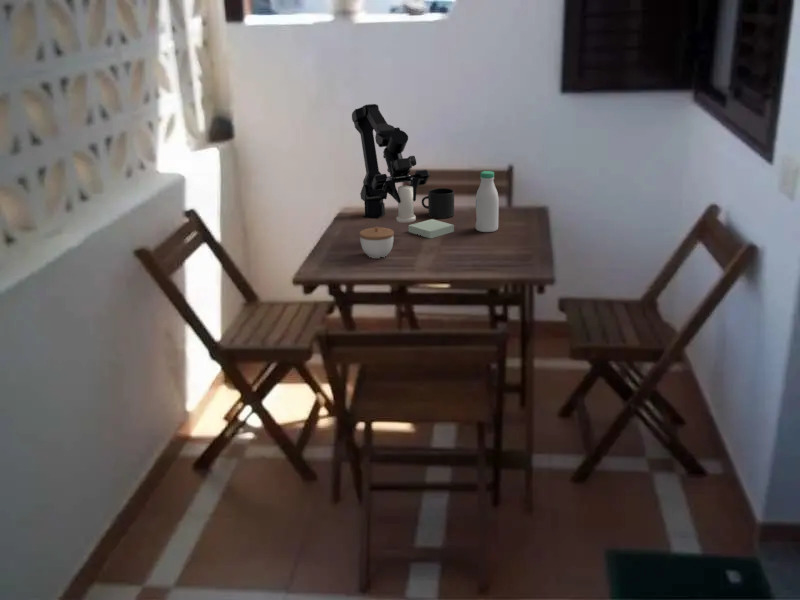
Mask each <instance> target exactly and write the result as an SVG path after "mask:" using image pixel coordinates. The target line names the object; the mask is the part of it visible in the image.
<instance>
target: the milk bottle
mask: <svg viewBox="0 0 800 600" xmlns="http://www.w3.org/2000/svg"><path fill="white" fill-rule="evenodd" d="M479 176H480V178H479V179H480V184H479V187H478V189H477V192H476V195H475V230H476V231H478V232H480V233H482V232H483V233H492V232H497V231H498V229H499V194H498V190H497V187H496V185H495V182H494V180H495V172H494V171H491V170H484V171H481V172H480V175H479Z"/></svg>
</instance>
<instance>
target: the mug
mask: <svg viewBox="0 0 800 600" xmlns="http://www.w3.org/2000/svg"><path fill="white" fill-rule="evenodd" d="M427 194H428V195H427V196H424V197H423V198H422V199H421V205H422V207H423V208H424V209H427V211H428V216H429V215H430V216H432V217H431V218H433V217H436V218H435V219H448V218H447V217H449V218H451V216H452V217H454V216H455V190H454V189H452V188H447V187H446V188H444V187H439V188H438V187H437V188H432V189H429V190H428V192H427ZM427 199H428V200H427ZM425 200H427V202H428V205H426V204H425ZM453 215H454V216H453ZM430 216H429V217H430Z"/></svg>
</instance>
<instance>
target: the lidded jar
mask: <svg viewBox="0 0 800 600" xmlns="http://www.w3.org/2000/svg"><path fill="white" fill-rule="evenodd" d="M394 235H395V231H394V230H393V229H391V228H387V227H379V226H374V227H368V228H365V229H362V230H361V231H360V232H359V240H360V245H361V249H362V251H363V252H364V254H366V255H367V257H368V256H369V257H368V258H370V257H372V258H371V259H381V258H380V257H384V258H386V257H387V256H388V255H389V253H390V252H391V250H392V248H393V246H394V240H395V239H394ZM385 256H386V257H385Z"/></svg>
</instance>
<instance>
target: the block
mask: <svg viewBox="0 0 800 600" xmlns="http://www.w3.org/2000/svg"><path fill="white" fill-rule="evenodd" d="M408 233H409V234H414V235H417V234H418V236H420V235H421V237H424V238H426V239H427V238H428V239H433V238H436V237H440V236H444V235H447V234H451V233H455V225H454V224H451V223H448V222H444V221H440V220H437V219H435V218H431V219H427V220H424V221H420V222H415V223H412V224H409V225H408Z"/></svg>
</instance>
